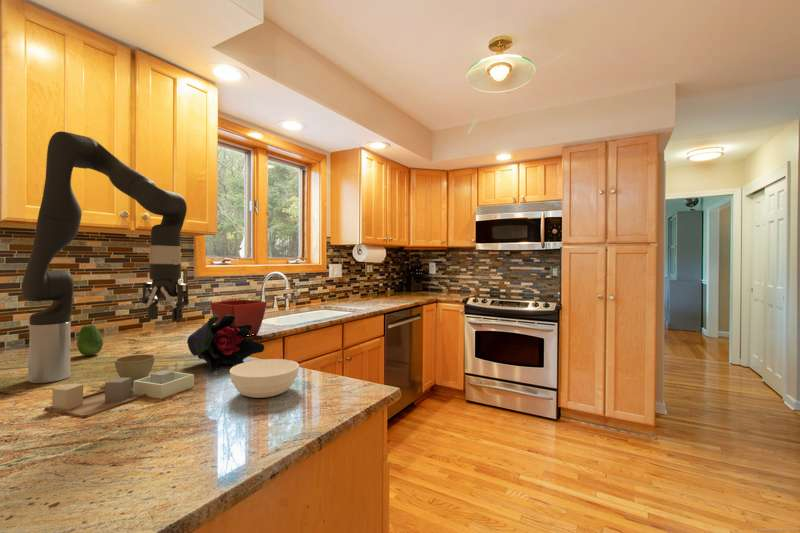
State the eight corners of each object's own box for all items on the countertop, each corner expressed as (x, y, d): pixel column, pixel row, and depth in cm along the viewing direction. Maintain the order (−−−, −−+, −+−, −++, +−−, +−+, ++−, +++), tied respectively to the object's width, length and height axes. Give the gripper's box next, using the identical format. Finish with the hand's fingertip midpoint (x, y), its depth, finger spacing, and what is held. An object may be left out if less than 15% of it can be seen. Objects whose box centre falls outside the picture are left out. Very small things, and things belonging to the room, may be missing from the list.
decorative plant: (228, 382, 142) (276, 375, 126) (156, 368, 125) (202, 357, 108) (241, 330, 152) (288, 316, 136) (176, 310, 134) (221, 291, 118)
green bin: (133, 395, 101) (133, 381, 101) (166, 384, 111) (166, 370, 111) (161, 400, 98) (161, 385, 98) (193, 388, 108) (193, 374, 108)
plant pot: (232, 341, 173) (232, 305, 173) (209, 336, 183) (209, 302, 183) (267, 335, 189) (267, 301, 189) (244, 331, 199) (244, 299, 199)
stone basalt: (104, 402, 95) (105, 382, 95) (115, 396, 99) (115, 377, 99) (121, 401, 96) (121, 382, 96) (131, 396, 100) (131, 377, 100)
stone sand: (52, 409, 90) (52, 388, 90) (69, 403, 94) (69, 383, 94) (66, 410, 89) (66, 389, 89) (83, 404, 93) (83, 384, 93)
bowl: (312, 388, 110) (312, 363, 110) (265, 410, 93) (265, 380, 93) (264, 379, 117) (265, 356, 117) (214, 398, 101) (214, 371, 101)
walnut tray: (44, 411, 90) (44, 407, 90) (113, 390, 105) (113, 387, 105) (85, 419, 86) (85, 415, 86) (150, 396, 101) (150, 392, 101)
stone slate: (150, 392, 103) (150, 373, 103) (163, 387, 107) (163, 370, 107) (161, 393, 102) (161, 375, 102) (174, 389, 106) (174, 371, 106)
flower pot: (133, 388, 108) (134, 363, 108) (105, 385, 110) (105, 360, 110) (162, 377, 117) (162, 355, 117) (135, 375, 119) (136, 353, 119)
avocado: (73, 356, 143) (73, 324, 143) (99, 352, 149) (99, 322, 149) (80, 359, 138) (80, 326, 138) (106, 355, 145) (106, 324, 145)
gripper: (133, 261, 103) (132, 320, 103) (173, 262, 99) (172, 324, 99) (158, 262, 110) (158, 317, 111) (196, 263, 106) (195, 320, 106)
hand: (164, 320), depth 105 cm, fingers open, 8 cm apart
